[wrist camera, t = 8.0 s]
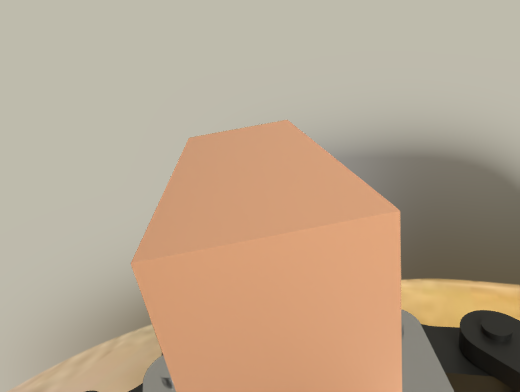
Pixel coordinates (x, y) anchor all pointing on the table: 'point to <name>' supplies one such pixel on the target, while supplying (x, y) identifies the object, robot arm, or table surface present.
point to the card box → (272, 269)
